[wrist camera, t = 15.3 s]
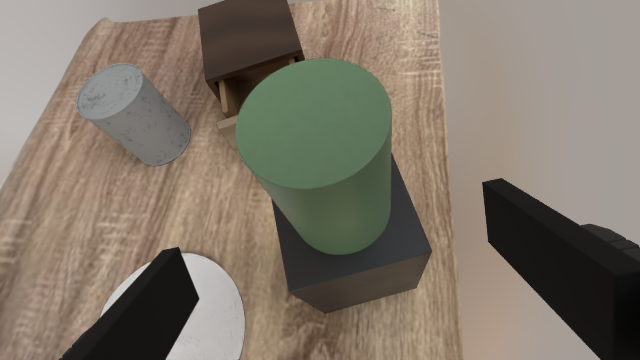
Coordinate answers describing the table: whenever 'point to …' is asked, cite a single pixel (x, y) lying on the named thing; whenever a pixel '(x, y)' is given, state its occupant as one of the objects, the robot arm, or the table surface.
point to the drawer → (241, 96)
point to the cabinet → (245, 37)
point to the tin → (322, 150)
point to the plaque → (205, 313)
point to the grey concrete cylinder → (133, 114)
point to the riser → (358, 259)
